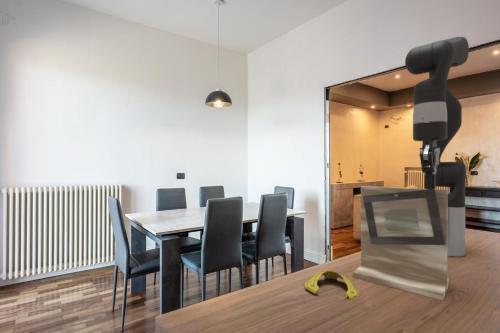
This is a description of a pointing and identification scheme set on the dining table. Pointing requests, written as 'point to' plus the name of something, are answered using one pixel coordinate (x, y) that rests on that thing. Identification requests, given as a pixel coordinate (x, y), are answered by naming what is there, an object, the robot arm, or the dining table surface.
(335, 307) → the dining table surface
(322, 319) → the dining table surface
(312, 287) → the yellow horseshoe piece
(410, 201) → the picture frame
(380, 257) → the wall board stand
